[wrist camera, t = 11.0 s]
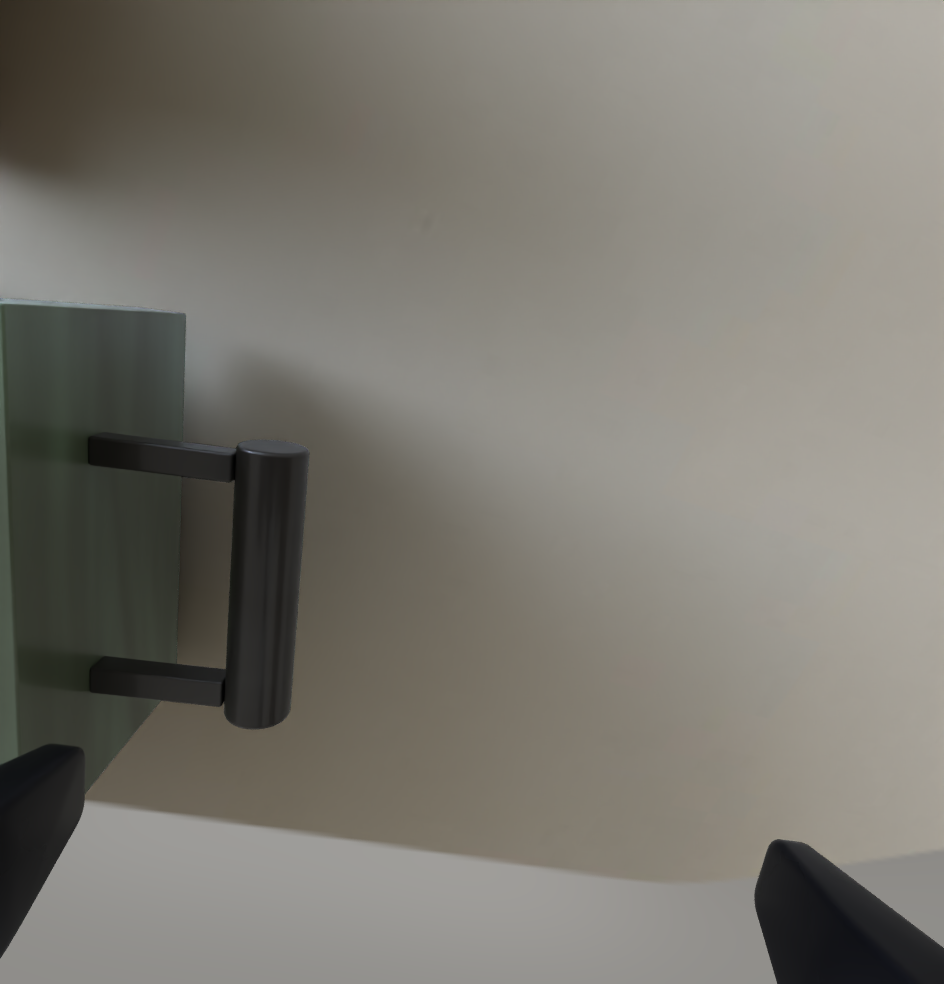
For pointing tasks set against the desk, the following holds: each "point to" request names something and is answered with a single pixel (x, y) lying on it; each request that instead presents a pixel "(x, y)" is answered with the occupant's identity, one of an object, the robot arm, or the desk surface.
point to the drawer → (126, 535)
